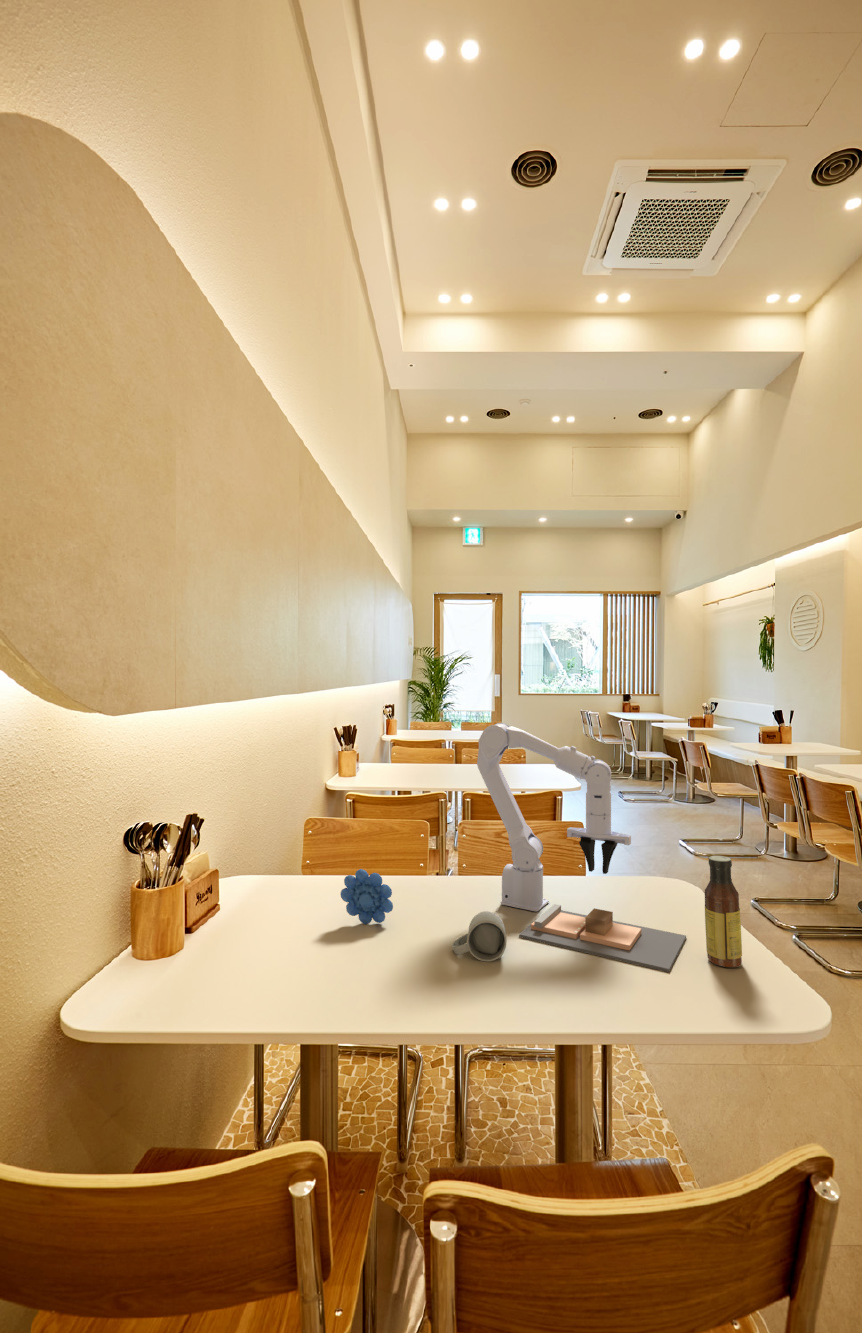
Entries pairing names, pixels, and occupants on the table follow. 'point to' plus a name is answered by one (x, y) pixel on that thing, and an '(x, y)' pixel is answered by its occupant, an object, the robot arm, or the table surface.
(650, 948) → the mat
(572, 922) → the ticket
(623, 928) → the peach square slab
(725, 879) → the sauce bottle
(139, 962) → the table surface
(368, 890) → the blue flower rosette
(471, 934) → the ceramic mug
